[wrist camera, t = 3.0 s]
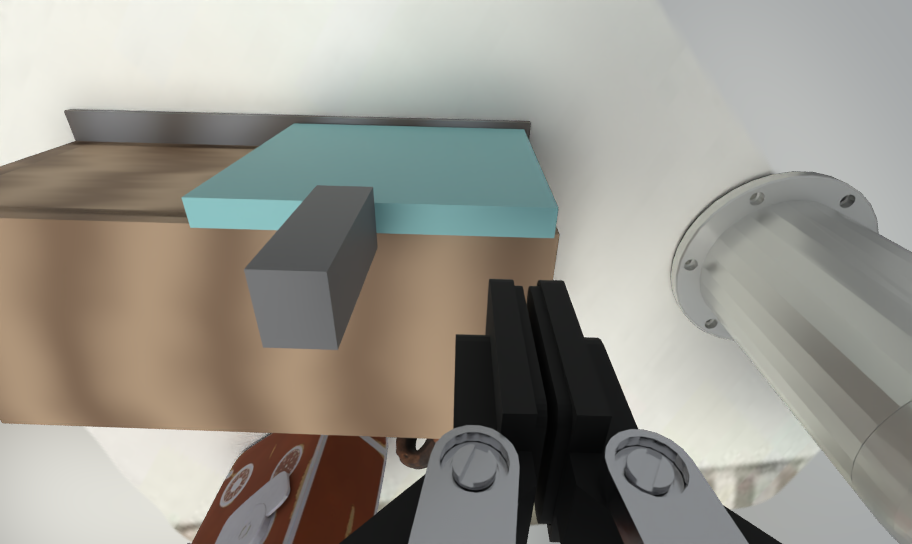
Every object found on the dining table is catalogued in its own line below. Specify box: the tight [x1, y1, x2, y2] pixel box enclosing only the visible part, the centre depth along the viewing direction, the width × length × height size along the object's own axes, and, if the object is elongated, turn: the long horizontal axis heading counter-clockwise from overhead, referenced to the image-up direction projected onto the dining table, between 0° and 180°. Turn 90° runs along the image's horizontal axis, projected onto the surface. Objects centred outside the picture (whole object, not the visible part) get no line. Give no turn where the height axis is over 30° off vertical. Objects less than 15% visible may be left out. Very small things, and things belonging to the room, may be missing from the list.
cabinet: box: [0, 110, 559, 439], centre depth 26 cm, size 28×14×12 cm, turn 89°
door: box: [181, 123, 558, 350], centre depth 19 cm, size 14×2×18 cm, turn 89°
